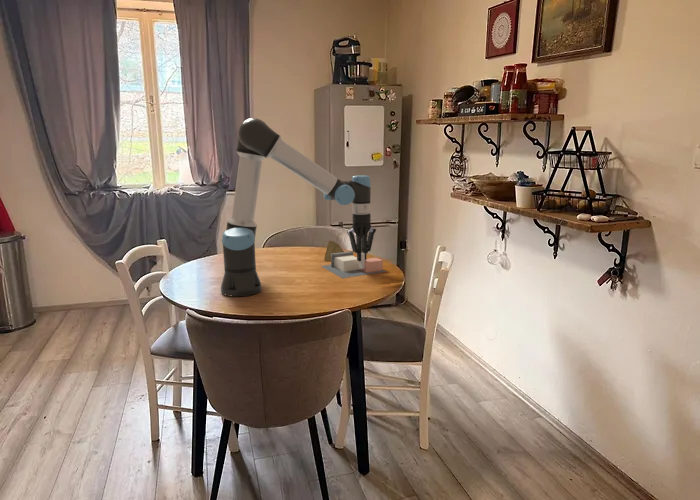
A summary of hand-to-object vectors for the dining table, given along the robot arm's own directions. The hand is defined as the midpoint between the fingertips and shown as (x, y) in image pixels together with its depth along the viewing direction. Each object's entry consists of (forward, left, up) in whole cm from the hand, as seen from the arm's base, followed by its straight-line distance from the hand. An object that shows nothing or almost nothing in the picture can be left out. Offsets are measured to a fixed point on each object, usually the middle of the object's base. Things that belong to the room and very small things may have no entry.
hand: (361, 268), depth 213 cm
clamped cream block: (-3, +10, -2) cm, 10 cm away
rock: (-1, +24, -3) cm, 24 cm away
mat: (-1, +6, -3) cm, 6 cm away
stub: (+5, 0, -2) cm, 5 cm away
